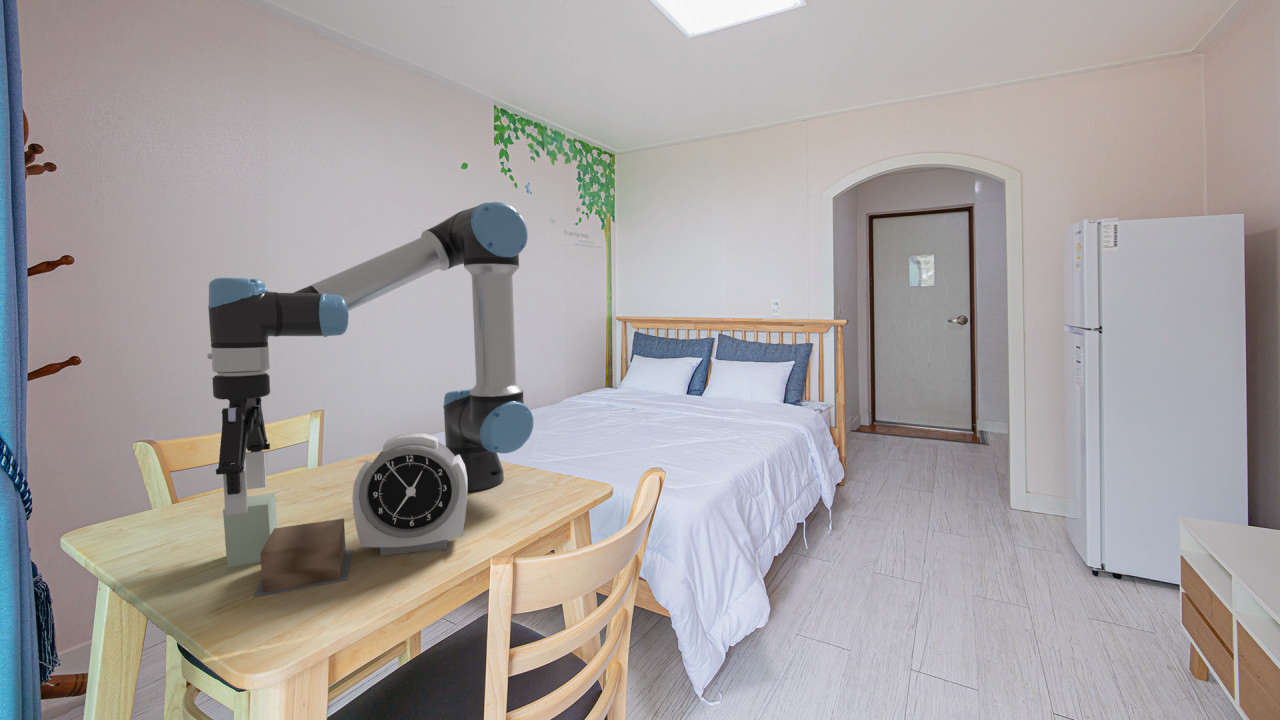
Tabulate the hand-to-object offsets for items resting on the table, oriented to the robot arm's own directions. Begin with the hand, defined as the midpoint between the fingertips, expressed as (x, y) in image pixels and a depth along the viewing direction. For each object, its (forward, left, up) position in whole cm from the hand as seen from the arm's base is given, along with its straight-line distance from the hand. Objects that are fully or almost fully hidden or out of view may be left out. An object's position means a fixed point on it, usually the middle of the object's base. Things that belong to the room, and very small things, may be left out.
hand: (247, 499), depth 89 cm
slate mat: (-9, +10, -10) cm, 17 cm away
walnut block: (-9, +10, -10) cm, 17 cm away
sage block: (0, 0, -10) cm, 10 cm away
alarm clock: (-25, +7, -11) cm, 28 cm away
